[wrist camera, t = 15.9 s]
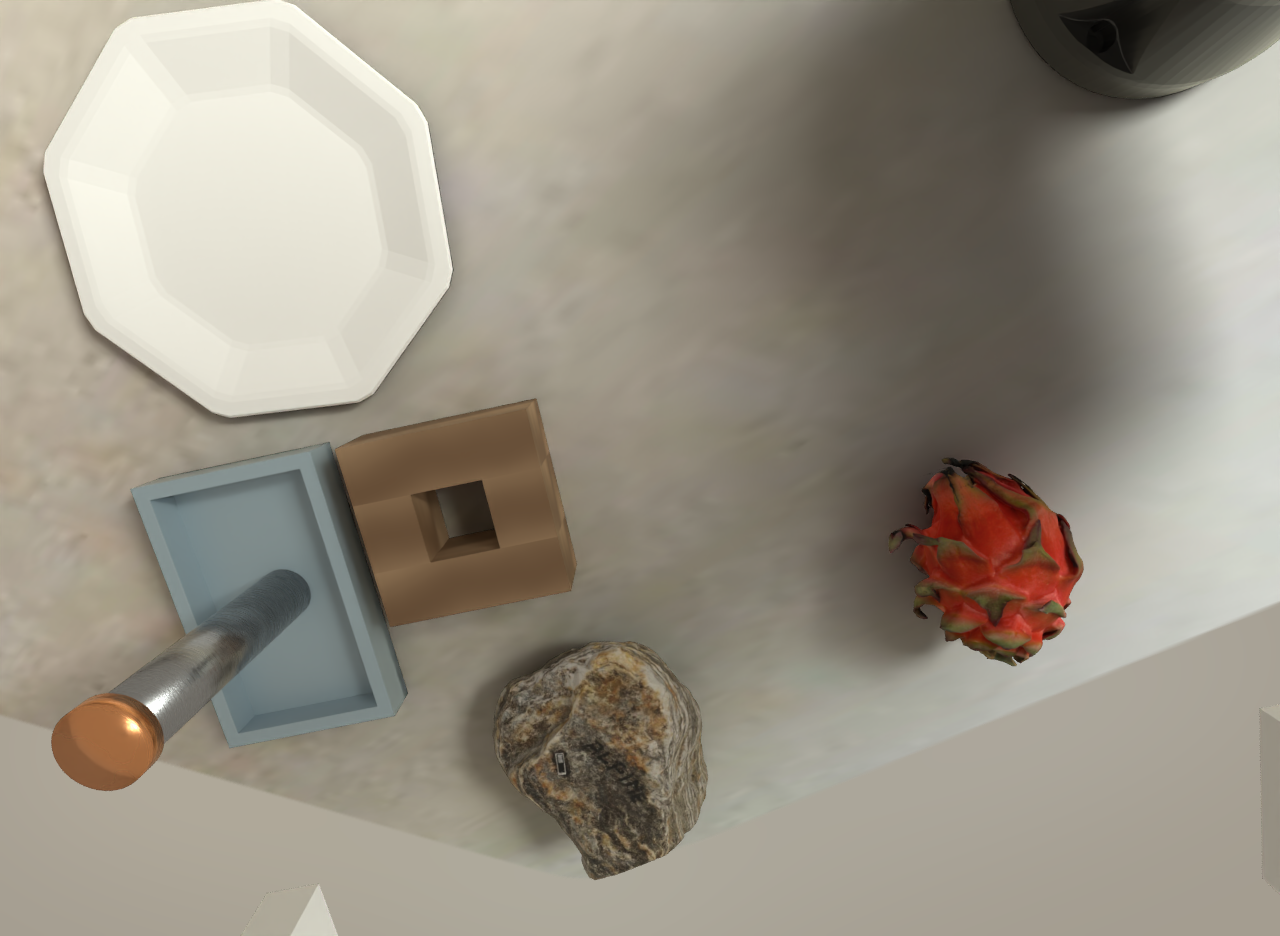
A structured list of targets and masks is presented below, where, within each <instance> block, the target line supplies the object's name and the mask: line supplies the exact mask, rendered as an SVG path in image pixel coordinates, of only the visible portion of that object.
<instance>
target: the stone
mask: <svg viewBox="0 0 1280 936" xmlns="http://www.w3.org/2000/svg"><path fill="white" fill-rule="evenodd" d="M494 724H495V725H494V730H493V739H494V746H495V752H496V756H497V758H498V761H499V763H500V765H501V767H502V768H503V770H504V772H505V773H506V775H507V776H508V777H509V779H510V781H511V783H512V785H513V786H514V787H515V788H516V789H517V790H518V791H519V792H520V793H521V794H522V795H523V796H525V797H527V798H529V799H530V800H532V801H533V802H534V803H535V804H536V805H537V806H538V807H539V808H540V809H541V810H543V811H544V812H546V813H548V814H550V815H551V816H553V817H554V818H555V819H556V820H557V822H558V823H559V825H560V826H561V828H562V829H563V830H564V831H565V832H566V834H567V835H568V836H569V837H570V838H571V840H572V841H573V842H574V844H575V845H576V847H577V848H578V850H579V851H580V853H581V855H582V864H583V866H584V869H585V871H586V873H587V874H588V876H589V878H592V879H594V880H597V879H601V878H605V877H609V876H613V875H617V874H619V873H622V872H625V871H628V870H630V869H633V868H635V867H638V866H640V865H643V864H646V863H648V862H651V861H653V860H655V859H657V858H661V857H663V856H665V855H666V854H668V853H669V852H670V851H671V850H673V849H674V848H675V847H676V846H677V845H678V844H679V843H680V842H681V841H682V839H683V838H684V834H685V833H686V832H688V831H690V830H691V829H692V828H693V826H694V825H695V824H696V822H697V820H698V817H699V814H700V809H701V806H702V803H703V801H704V799H705V796H706V786H707V781H708V774H707V769H706V764H705V762H704V759H703V752H702V745H701V731H702V721H701V714H700V710H699V706H698V704H697V703H696V701H695V699H693V697H692V695H691V693H690V691H689V690H688V689H687V688H686V687H685V686H684V685H682V684H681V683H680V682H679V680H678V679H677V678H676V677H675V675H674V674H673V673H672V672H671V671H670V669H669V668H668V666H667V665H666V664H665V663H664V662H663V661H662V660H661V658H660V657H659V656H658V655H657V654H656V653H655V652H654V651H652V650H651V649H649V648H648V647H646V646H644V645H641V644H638V643H636V642H630V641H628V642H624V643H621V642H593V643H589V644H587V645H586V646H584V647H582V648H580V649H577V648H572V649H571V650H570V651H567V652H564V653H562V654H560V655H559V656H557V657H555V658H553V659H551V660H550V661H549V662H547V663H546V664H545V665H544V666H543V667H542V668H541V669H540V670H537V671H535V672H533V673H532V674H529V675H525V676H522V677H519V678H517V679H513V680H511V682H510V683H509V684H508V685H507V686H506V687H505V688H504V690H503V691H502V693H501V695H500V697H499V699H498V702H497V707H496V711H495V715H494Z"/></svg>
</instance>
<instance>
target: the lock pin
mask: <svg viewBox="0 0 1280 936" xmlns="http://www.w3.org/2000/svg"><path fill="white" fill-rule="evenodd" d="M310 600H311V591H310V588H309V586H308V584H307V582H306V581H305V579H304V578H303V577H301V576H300V575H299V574H297V573H295V572H293V571H291V570H286V569H278V570H274V571H271V572H270V573H268V574H267V575H265V576H264V577H263V578H261V579H260V580H259V581H257V582H256V583H255V584H253V585H252V586H251V587H249V588H248V589H247V590H245V591H244V592H243V593H241V594H240V595H239V596H237V597H236V598H235V599H233V600H232V601H231V602H229V603H228V604H227V605H225V606H224V607H223V608H221V609H220V610H219V611H217V612H216V613H215V614H213V615H212V616H211V617H209V618H208V619H207V620H205V621H204V622H203V623H201V624H200V625H198V626H197V627H196V628H194V629H193V630H192V631H190V632H189V633H188V634H186V635H185V636H184V637H182V638H181V639H180V640H178V641H177V642H176V643H174V644H173V645H172V646H170V647H169V648H168V649H166V650H165V651H164V652H162V653H161V654H160V655H158V656H157V657H156V658H154V659H153V660H152V661H150V662H149V663H148V664H146V665H145V666H144V667H142V668H141V669H140V670H138V671H137V672H136V673H134V674H133V675H132V676H130V677H129V678H128V679H126V680H125V681H124V682H122V683H121V684H120V685H118V686H117V687H116V688H114V689H113V690H112V691H110V692H109V693H105V694H99V695H95V696H93V697H91V698H89V699H87V700H85V701H84V702H83V703H81V704H80V705H78V706H77V707H76V708H74V709H73V710H72V711H70V712H69V713H68V714H66V715H65V716H64V717H62V718H61V719H60V721H59V722H58V723H57V725H56V726H55V728H54V731H53V734H52V740H51V743H52V751H53V754H54V757H55V759H56V761H57V763H58V764H59V766H60V768H61V769H62V770H63V771H64V772H65V773H66V774H67V775H68V776H69V777H70V778H71V779H73V780H75V781H76V782H78V783H79V784H81V785H83V786H86V787H89V788H92V789H96V790H103V791H112V790H118V789H122V788H125V787H127V786H129V785H131V784H132V783H134V782H135V781H136V780H138V778H140V777H141V776H142V775H143V774H144V773H145V772H146V771H147V770H148V769H149V768H150V767H151V766H152V765H153V764H154V763H155V762H156V761H157V760H158V758H159V757H160V755H161V753H162V750H163V746H164V743H165V742H166V741H167V740H168V739H169V738H171V737H172V736H173V735H174V734H175V733H176V732H177V731H178V730H179V729H180V728H181V727H182V726H183V725H184V724H185V723H186V722H187V721H189V720H190V719H191V718H192V717H193V716H194V715H195V714H196V713H197V712H198V711H199V710H200V709H201V708H202V707H203V706H204V705H205V704H207V703H208V702H209V701H210V700H211V699H212V698H213V697H214V696H215V695H216V694H217V693H218V692H219V691H220V690H221V689H222V688H223V687H225V686H226V685H227V684H228V683H229V682H230V681H231V680H232V679H233V678H234V677H235V676H236V675H237V674H238V673H239V672H240V671H241V670H243V669H244V668H245V667H246V666H247V665H248V664H249V663H250V662H251V661H252V660H253V659H254V658H255V657H256V656H257V655H258V654H259V653H261V652H262V651H263V650H264V649H265V648H266V647H267V646H268V645H269V644H270V643H271V642H272V641H273V640H274V639H275V638H276V637H277V636H279V635H280V634H281V633H282V632H283V631H284V630H285V629H286V628H287V627H288V626H289V625H290V624H291V623H292V622H293V621H294V620H295V619H297V618H298V617H299V616H300V615H301V614H302V613H303V612H304V611H305V610H306V609H307V607H308V606H309V604H310Z"/></svg>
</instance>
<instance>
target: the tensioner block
mask: <svg viewBox="0 0 1280 936" xmlns="http://www.w3.org/2000/svg"><path fill="white" fill-rule="evenodd" d="M335 452H336V455H337V458H338V462H339V465H340V468H341V471H342V474H343V478H344V481H345V484H346V487H347V490H348V494H349V497H350V500H351V503H352V506H353V510H354V513H355V516H356V519H357V522H358V526H359V529H360V532H361V535H362V538H363V542H364V545H365V548H366V551H367V554H368V558H369V561H370V564H371V567H372V570H373V574H374V577H375V580H376V583H377V586H378V590H379V593H380V596H381V599H382V602H383V605H384V609H385V612H386V615H387V618H388V621H389V625H390V627H393V626H398V625H403V624H408V623H413V622H418V621H423V620H428V619H433V618H438V617H443V616H448V615H453V614H458V613H463V612H468V611H473V610H478V609H483V608H488V607H493V606H498V605H503V604H508V603H513V602H518V601H523V600H528V599H533V598H538V597H543V596H548V595H553V594H558V593H563V592H568V591H571V589H572V584H573V580H574V575H575V570H576V566H577V563H576V559H575V555H574V551H573V546H572V542H571V538H570V534H569V530H568V526H567V522H566V518H565V514H564V510H563V505H562V501H561V497H560V493H559V489H558V485H557V481H556V477H555V473H554V469H553V464H552V460H551V456H550V452H549V448H548V444H547V440H546V436H545V432H544V428H543V423H542V419H541V415H540V411H539V407H538V403H537V399H531V400H526V401H522V402H517V403H512V404H508V405H503V406H498V407H493V408H489V409H484V410H479V411H474V412H470V413H465V414H460V415H456V416H451V417H446V418H441V419H437V420H432V421H427V422H422V423H418V424H413V425H408V426H404V427H399V428H394V429H389V430H385V431H380V432H375V433H370V434H366V435H362V436H360V437H358V438H356V439H354V440H352V441H350V442H348V443H346V444H344V445H342V446H340V447H338V448H336V449H335ZM479 480H482V483H483V486H484V490H485V494H486V498H487V501H488V505H489V509H490V512H491V516H492V520H493V524H494V527H495V529H492V530H488V531H483V532H478V533H473V534H468V535H463V536H458V537H453V538H449V536H448V532H447V529H446V525H445V522H444V518H443V515H442V511H441V508H440V504H439V501H438V497H437V494H436V489H441V488H445V487H450V486H455V485H460V484H465V483H469V482H474V481H479Z"/></svg>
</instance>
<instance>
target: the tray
mask: <svg viewBox="0 0 1280 936" xmlns="http://www.w3.org/2000/svg"><path fill="white" fill-rule="evenodd" d="M130 490H131V492H132V495H133V497H134V500H135V503H136V505H137V508H138V510H139V513H140V516H141V518H142V521H143V523H144V526H145V529H146V531H147V534H148V537H149V539H150V542H151V544H152V547H153V550H154V552H155V555H156V557H157V560H158V563H159V565H160V568H161V570H162V573H163V576H164V578H165V581H166V583H167V586H168V589H169V591H170V594H171V596H172V599H173V602H174V604H175V607H176V610H177V612H178V615H179V617H180V620H181V623H182V625H183V628H184V630H185V633H186V634H188V633H189V632H190V631H192V630H193V629H194V628H196V627H197V626H198V625H200V624H201V623H203V622H204V621H205V620H207V619H208V618H209V617H211V616H212V615H213V614H215V613H216V612H217V611H219V610H220V609H221V608H223V607H224V606H225V605H227V604H228V603H229V602H231V601H232V600H233V599H235V598H236V597H237V596H239V595H240V594H241V593H243V592H244V591H245V590H247V589H248V588H249V587H251V586H252V585H253V584H255V583H256V582H257V581H259V580H260V579H261V578H263V577H264V576H265V575H267V574H268V573H270V572H271V571H274V570H278V569H286V570H291V571H293V572H295V573H297V574H299V575H300V576H301V577H303V578H304V579H305V581H306V582H307V584H308V586H309V588H310V591H311V600H310V604H309V606H308V607H307V609H306V610H305V611H304V612H303V613H302V614H301V615H300V616H299V617H298V618H297V619H295V620H294V621H293V622H292V623H291V624H290V625H289V626H288V627H287V628H286V629H285V630H284V631H283V632H282V633H281V634H280V635H279V636H277V637H276V638H275V639H274V640H273V641H272V642H271V643H270V644H269V645H268V646H267V647H266V648H265V649H264V650H263V651H262V652H261V653H259V654H258V655H257V656H256V657H255V658H254V659H253V660H252V661H251V662H250V663H249V664H248V665H247V666H246V667H245V668H244V669H243V670H241V671H240V672H239V673H238V674H237V675H236V676H235V677H234V678H233V679H232V680H231V681H230V682H229V683H228V684H227V685H226V686H225V687H223V688H222V689H221V690H220V691H219V692H218V693H217V694H216V695H215V696H214V697H213V698H212V699H211V701H212V703H213V706H214V709H215V711H216V714H217V716H218V719H219V722H220V724H221V727H222V729H223V732H224V735H225V737H226V740H227V743H228V745H229V748H233V747H238V746H243V745H249V744H254V743H259V742H264V741H269V740H274V739H279V738H285V737H290V736H295V735H300V734H305V733H310V732H315V731H320V730H326V729H331V728H336V727H341V726H346V725H351V724H356V723H361V722H367V721H372V720H377V719H382V718H387V717H392V716H395V715H396V713H397V711H398V709H399V708H400V706H401V704H402V703H403V701H404V699H405V697H406V696H407V694H408V692H407V689H406V686H405V682H404V679H403V676H402V673H401V670H400V666H399V663H398V660H397V657H396V654H395V650H394V647H393V644H392V641H391V638H390V635H389V631H388V628H387V625H386V622H385V619H384V615H383V612H382V609H381V606H380V603H379V600H378V596H377V593H376V590H375V587H374V584H373V580H372V577H371V574H370V571H369V568H368V564H367V561H366V558H365V555H364V552H363V549H362V545H361V542H360V539H359V536H358V533H357V529H356V526H355V523H354V520H353V517H352V514H351V510H350V507H349V504H348V501H347V498H346V494H345V491H344V488H343V485H342V482H341V478H340V475H339V472H338V469H337V466H336V463H335V459H334V456H333V453H332V450H331V447H330V443H329V442H328V443H323V444H318V445H314V446H309V447H304V448H300V449H295V450H290V451H285V452H281V453H276V454H271V455H266V456H262V457H257V458H252V459H248V460H243V461H238V462H233V463H229V464H224V465H219V466H214V467H210V468H205V469H200V470H196V471H191V472H186V473H181V474H177V475H172V476H167V477H162V478H159V479H156V480H153V481H151V482H148V483H146V484H143V485H140V486H138V487H135V488H132V489H130Z"/></svg>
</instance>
